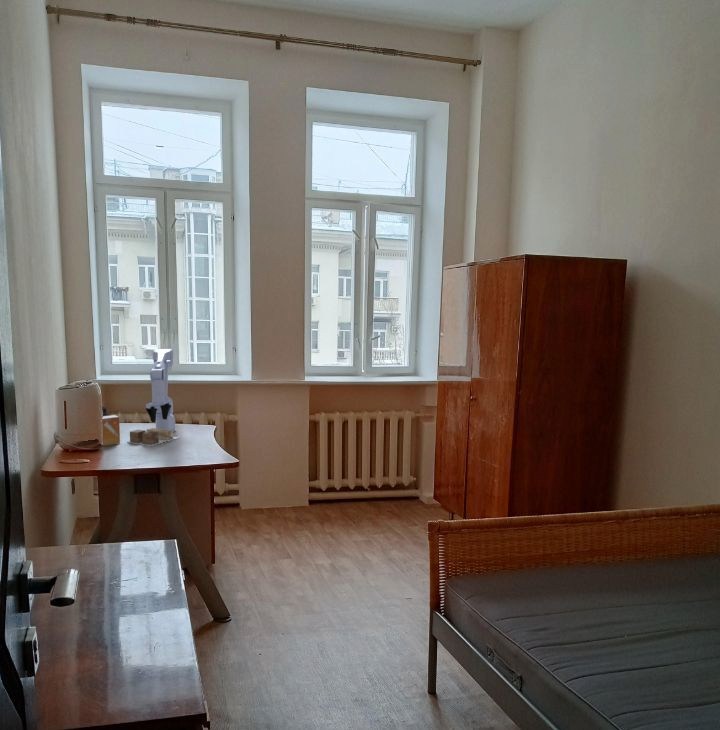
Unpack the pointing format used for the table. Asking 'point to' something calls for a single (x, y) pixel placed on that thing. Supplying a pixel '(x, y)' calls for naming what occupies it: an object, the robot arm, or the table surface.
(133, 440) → the cube
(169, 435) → the lintel
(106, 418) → the small box
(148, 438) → the cube
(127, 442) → the mat
